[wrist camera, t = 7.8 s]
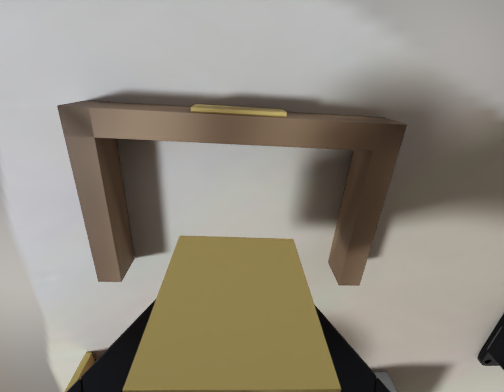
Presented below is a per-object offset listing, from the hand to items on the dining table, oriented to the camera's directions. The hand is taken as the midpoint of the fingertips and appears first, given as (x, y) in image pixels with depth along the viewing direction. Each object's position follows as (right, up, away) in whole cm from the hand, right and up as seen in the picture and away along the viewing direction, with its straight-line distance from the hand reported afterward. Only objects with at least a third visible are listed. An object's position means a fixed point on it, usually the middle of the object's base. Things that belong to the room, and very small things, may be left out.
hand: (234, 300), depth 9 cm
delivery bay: (0, +4, +5) cm, 7 cm away
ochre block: (0, 0, +1) cm, 1 cm away
